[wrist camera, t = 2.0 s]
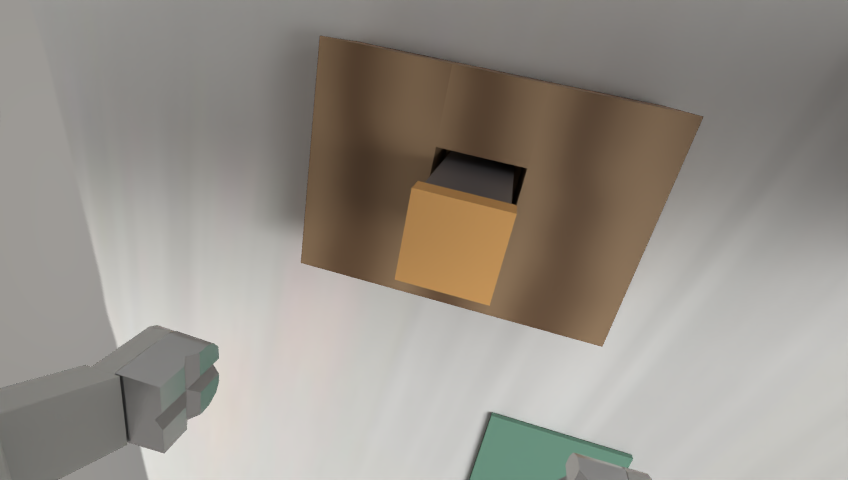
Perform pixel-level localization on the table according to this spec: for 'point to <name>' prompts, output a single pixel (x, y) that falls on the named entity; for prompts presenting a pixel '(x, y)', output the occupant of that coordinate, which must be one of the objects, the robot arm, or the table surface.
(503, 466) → the mat
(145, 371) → the robot arm
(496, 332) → the table surface
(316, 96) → the socket block
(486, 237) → the plug
